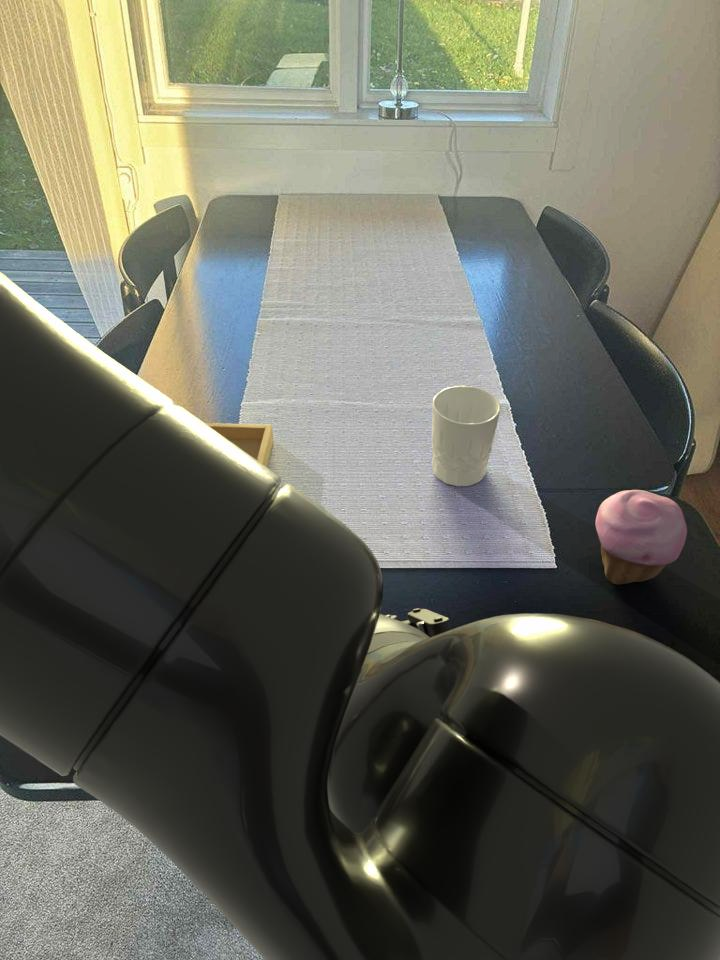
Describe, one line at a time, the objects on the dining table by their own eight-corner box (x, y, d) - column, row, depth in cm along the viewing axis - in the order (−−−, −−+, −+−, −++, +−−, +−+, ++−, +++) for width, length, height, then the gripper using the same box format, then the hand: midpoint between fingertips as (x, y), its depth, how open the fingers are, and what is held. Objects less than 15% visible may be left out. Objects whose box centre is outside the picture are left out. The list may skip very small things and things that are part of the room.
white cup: (430, 447, 92) (436, 382, 85) (491, 453, 91) (501, 388, 84) (424, 486, 86) (429, 420, 79) (489, 494, 85) (499, 427, 78)
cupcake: (577, 539, 79) (596, 471, 72) (655, 542, 79) (682, 475, 72) (591, 600, 72) (615, 533, 66) (677, 605, 72) (709, 537, 65)
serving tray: (127, 506, 83) (122, 490, 81) (157, 436, 93) (153, 421, 92) (257, 511, 83) (254, 495, 81) (273, 440, 93) (272, 424, 91)
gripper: (489, 576, 33) (394, 566, 49) (183, 660, 29) (187, 620, 45) (527, 734, 33) (419, 672, 48) (223, 837, 29) (213, 735, 45)
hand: (307, 647), depth 47 cm, fingers open, 8 cm apart
